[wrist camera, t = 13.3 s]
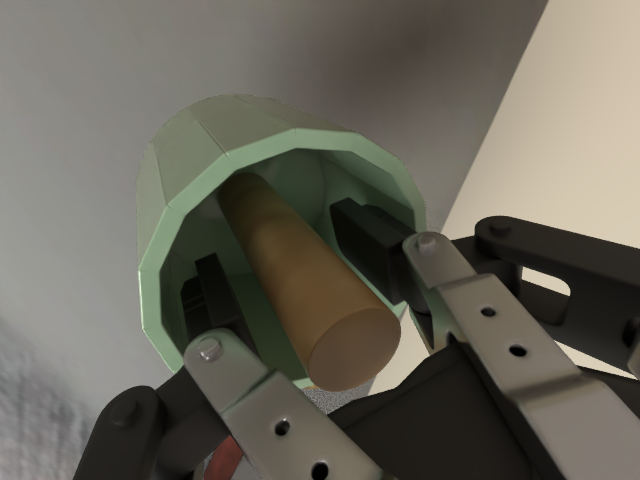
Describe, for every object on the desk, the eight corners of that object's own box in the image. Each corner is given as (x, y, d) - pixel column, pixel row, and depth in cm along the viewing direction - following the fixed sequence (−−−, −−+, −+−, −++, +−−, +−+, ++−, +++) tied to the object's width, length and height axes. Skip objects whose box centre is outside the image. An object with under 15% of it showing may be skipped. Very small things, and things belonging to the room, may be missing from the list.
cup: (188, 303, 19) (217, 438, 12) (92, 133, 14) (58, 211, 8) (341, 235, 21) (433, 320, 15) (305, 67, 16) (418, 84, 10)
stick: (229, 231, 17) (320, 408, 9) (209, 184, 16) (295, 340, 8) (278, 211, 18) (406, 360, 10) (263, 164, 17) (396, 289, 8)
